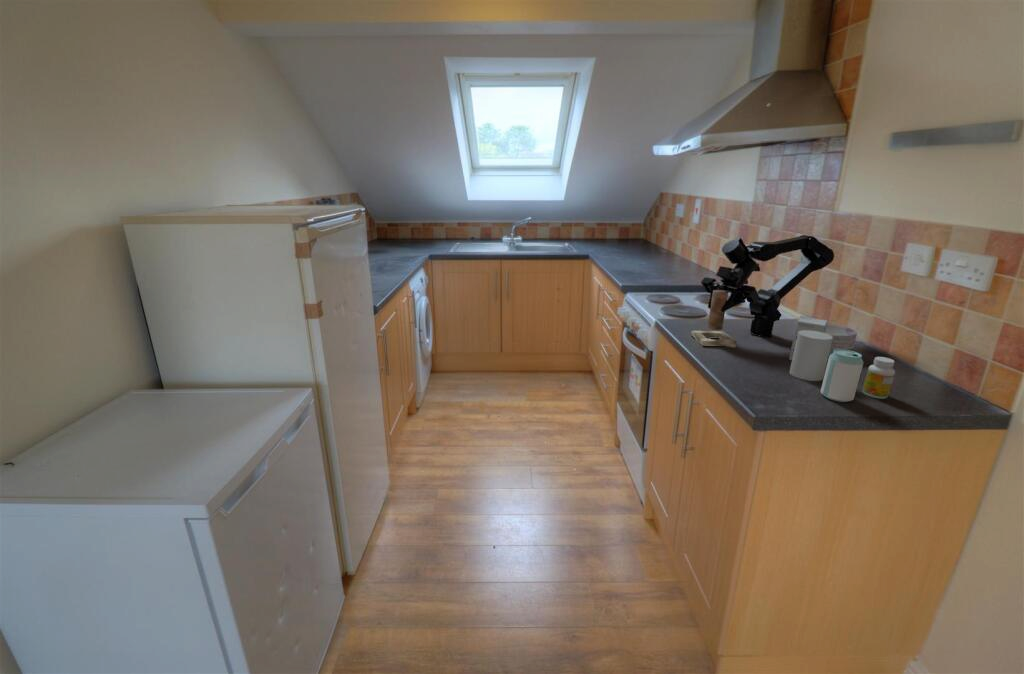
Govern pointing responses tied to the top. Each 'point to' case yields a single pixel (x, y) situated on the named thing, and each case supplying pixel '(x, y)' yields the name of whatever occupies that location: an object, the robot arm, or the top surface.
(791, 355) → the supplement box
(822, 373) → the cup
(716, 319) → the cherry wood peg
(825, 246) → the robot arm
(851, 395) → the can
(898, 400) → the top surface
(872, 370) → the supplement bottle
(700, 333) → the birch hole board
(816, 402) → the top surface
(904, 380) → the top surface
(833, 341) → the paper bowls
